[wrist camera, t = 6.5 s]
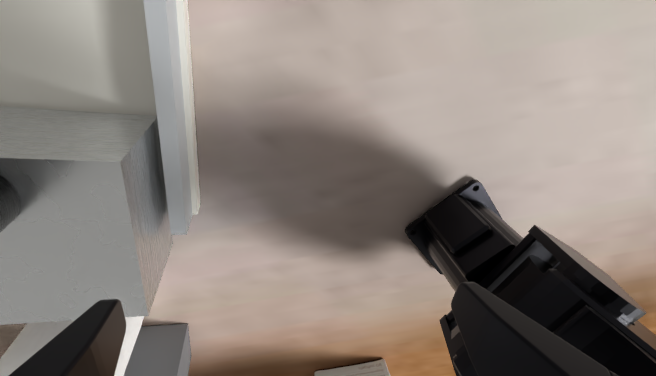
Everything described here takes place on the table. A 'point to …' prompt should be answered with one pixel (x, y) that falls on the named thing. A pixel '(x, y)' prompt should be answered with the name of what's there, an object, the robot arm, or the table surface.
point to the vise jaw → (79, 213)
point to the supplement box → (358, 370)
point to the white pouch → (44, 332)
